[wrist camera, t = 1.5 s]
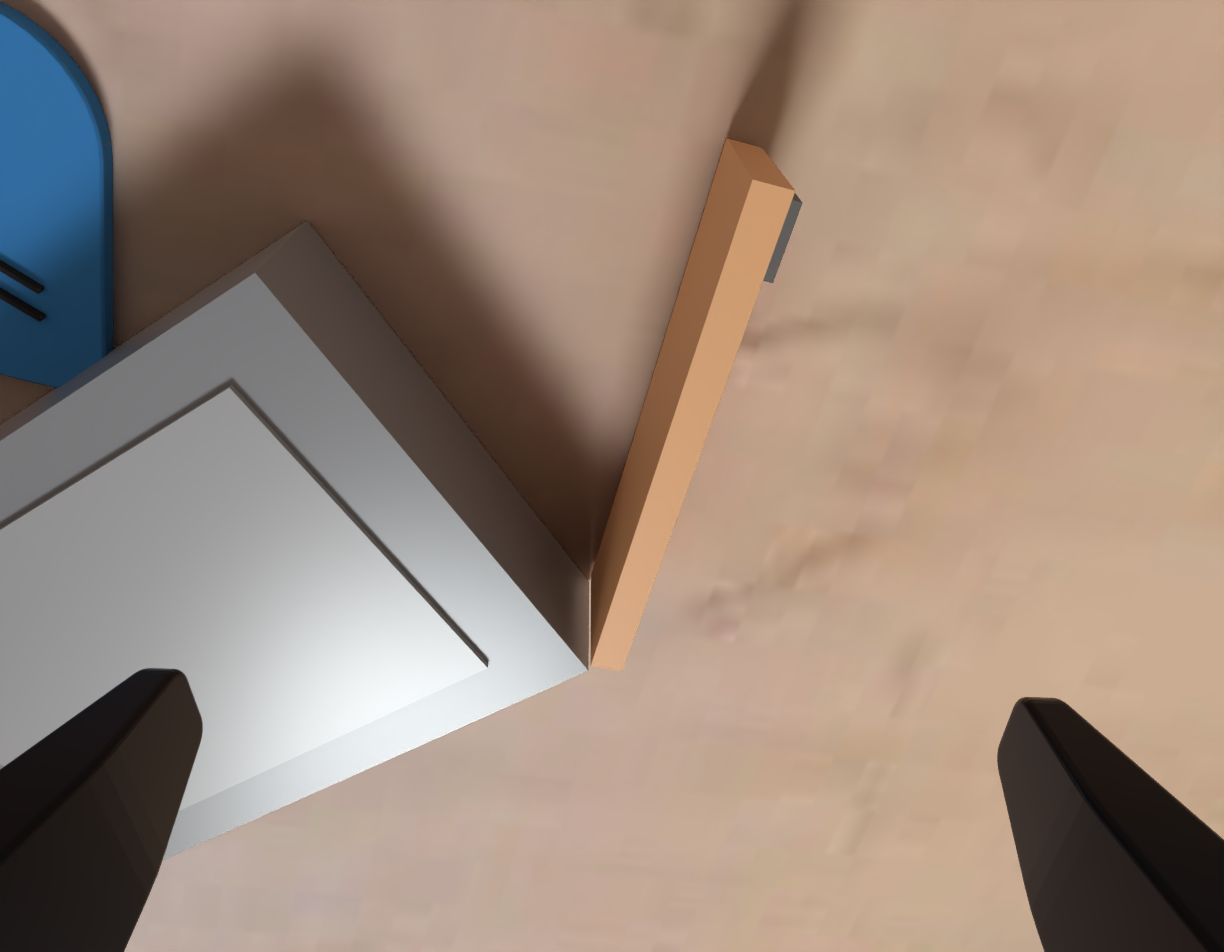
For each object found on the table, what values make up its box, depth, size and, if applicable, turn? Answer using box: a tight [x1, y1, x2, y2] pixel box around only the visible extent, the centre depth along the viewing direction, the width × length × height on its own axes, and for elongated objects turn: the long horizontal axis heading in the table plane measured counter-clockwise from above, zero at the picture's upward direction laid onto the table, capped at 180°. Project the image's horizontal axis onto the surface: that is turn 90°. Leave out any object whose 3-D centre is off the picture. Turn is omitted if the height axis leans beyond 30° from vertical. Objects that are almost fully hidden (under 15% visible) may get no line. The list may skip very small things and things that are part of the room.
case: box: [0, 221, 589, 861], centre depth 23 cm, size 16×12×4 cm
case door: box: [591, 138, 802, 671], centre depth 20 cm, size 1×12×4 cm, turn 165°
